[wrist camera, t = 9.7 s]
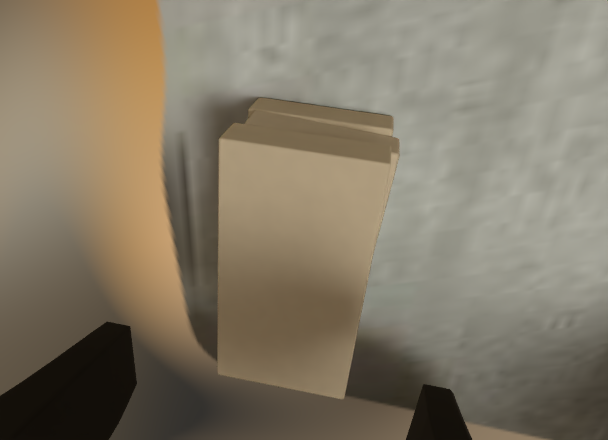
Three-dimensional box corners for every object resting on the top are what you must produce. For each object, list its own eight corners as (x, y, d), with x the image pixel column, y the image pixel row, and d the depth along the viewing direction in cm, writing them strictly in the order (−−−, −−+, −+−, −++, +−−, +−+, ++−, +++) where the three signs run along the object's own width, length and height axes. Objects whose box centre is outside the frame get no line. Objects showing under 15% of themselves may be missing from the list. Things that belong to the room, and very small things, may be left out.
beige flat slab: (347, 370, 18) (343, 400, 17) (228, 347, 18) (216, 375, 17) (391, 145, 14) (391, 164, 12) (233, 121, 14) (217, 137, 13)
